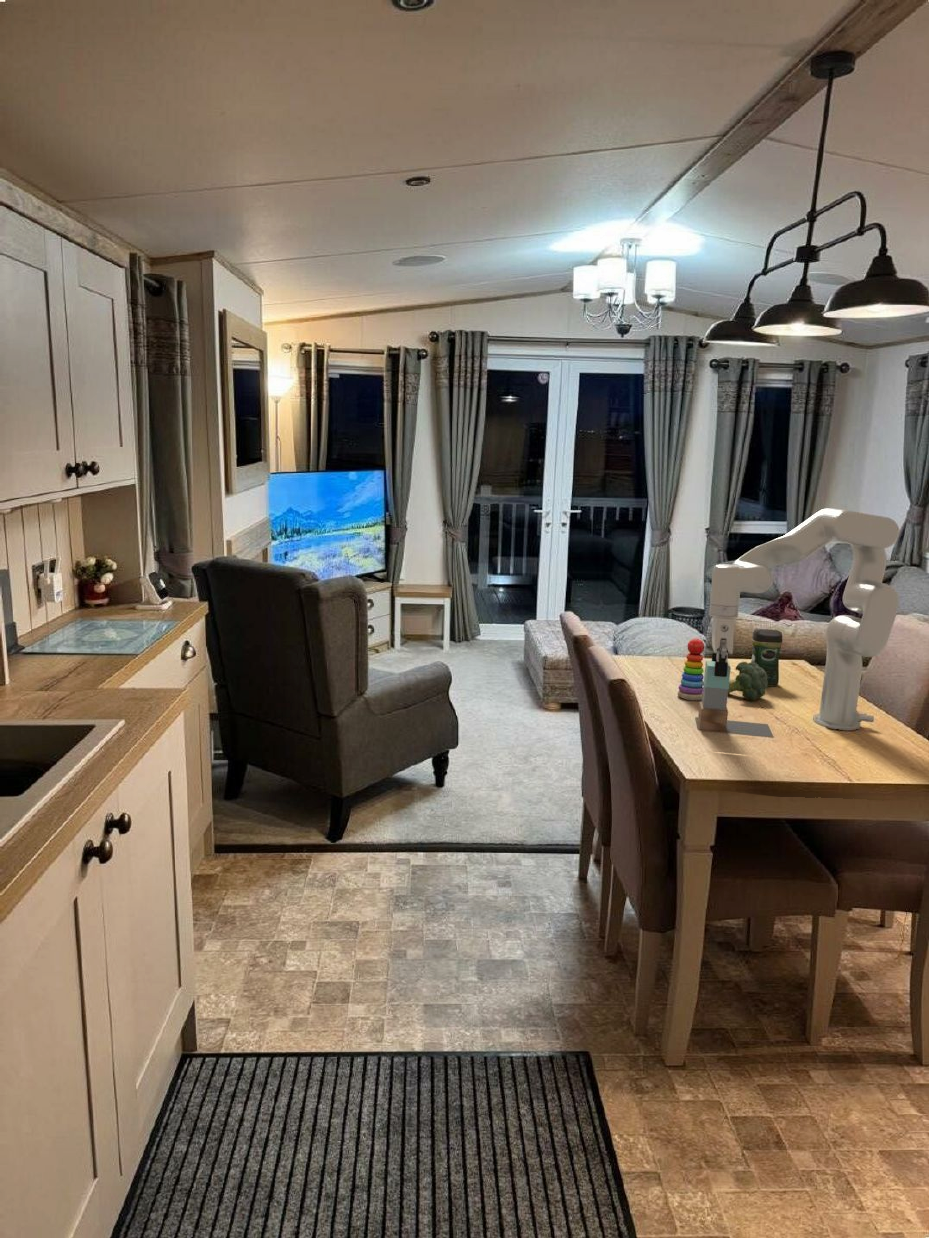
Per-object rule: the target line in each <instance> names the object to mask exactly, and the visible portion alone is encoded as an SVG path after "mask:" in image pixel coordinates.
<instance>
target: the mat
mask: <svg viewBox="0 0 929 1238" xmlns="http://www.w3.org/2000/svg"><path fill="white" fill-rule="evenodd" d="M694 718H695V719H694V720H695V724H696V729H697V731H700V732H702V731H703V732H708V731H707V730H699V725H698V717H696V716H695V717H694ZM709 732H711V733H718V732H717V731H709ZM719 733H721V734H732V735H740V736H741V735H743V736H752V737H762V738H771V739H772V738H774V739H775V736H774V733H772V731H771V729H770V726H769V724H768V723H758V722H750V721H749V722H747V721H740V720H739V721H737V720H728V719H727V727H726V732H719Z"/></svg>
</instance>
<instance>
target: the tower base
mask: <svg viewBox="0 0 929 1238" xmlns="http://www.w3.org/2000/svg"><path fill="white" fill-rule="evenodd" d="M728 717H729V710H728V707H727V706H726V710H715V709H704V708H703V705H702V701H699V707H698V725H699V730H698V731H700V730H707V731H706V732H710V731H717V732H716V733H720V732H726V727H727V720H728Z"/></svg>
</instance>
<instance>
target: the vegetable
mask: <svg viewBox="0 0 929 1238" xmlns="http://www.w3.org/2000/svg"><path fill="white" fill-rule="evenodd" d="M734 670H735V671H738V673H739V674H738V675H736V676H735V679H734V680H733V679H729V689H728V695H730V694H731V693H732V692H736V691H737V692H742V693H741V695H742V696H743V697H744V698H745V700H749V701H750V702H754V701H756V700H757V699H760V698H762V697H764V696H765V694H766V691H767V690H766V689H767V687H769V686H768V682H767V673H766V672H765V671H764V669H763V668H762V667H759V665H758V664H757V663H753V662H751V661H750V662H749V663H748V662H747V661H741V662H738V664H737V665H736V666H735V669H734Z"/></svg>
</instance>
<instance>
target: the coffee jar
mask: <svg viewBox="0 0 929 1238" xmlns="http://www.w3.org/2000/svg"><path fill="white" fill-rule="evenodd" d="M751 644H752V656H751V659H750V660H751V661H750V663H751V662H753V663H757V664H758V665H759V667H762V668H763V669H764V671H765V672H766V673H767V682H768V686H767V687H772V686H773V687H776V686H779V682H780V681H779V679H780V671H779V667H780V665H779V663H780V661H779V659H780V658H779V657H780V651H781V647H783V632H782V631H780V630H778V629H769V628H766V629H765V628H764V629H763V628H762V629H761V628H758V629H757V628H756V629H754V630H753V633H752V637H751Z"/></svg>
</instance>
